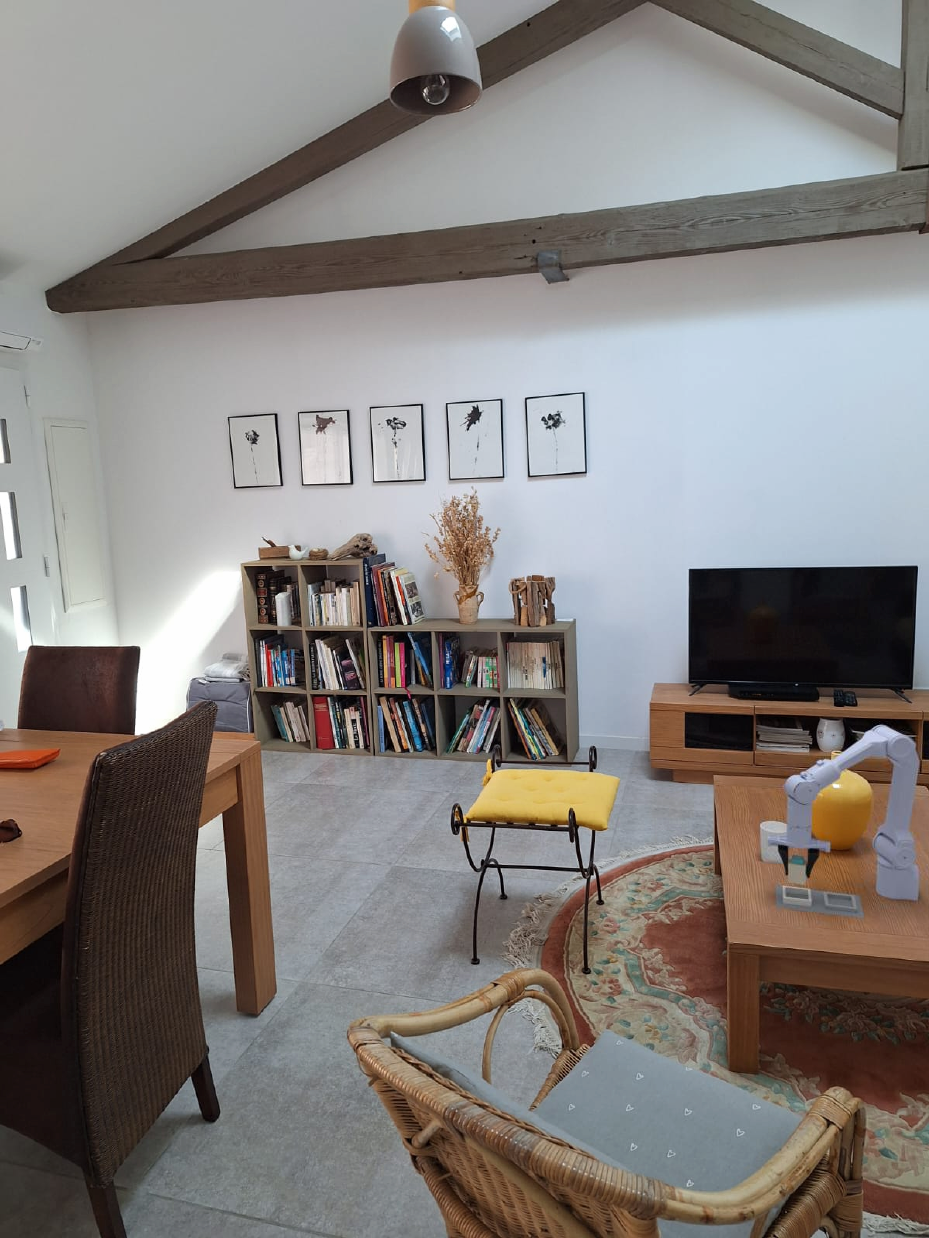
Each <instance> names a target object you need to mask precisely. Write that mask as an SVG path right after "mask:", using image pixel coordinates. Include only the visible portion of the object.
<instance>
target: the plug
mask: <svg viewBox="0 0 929 1238" xmlns="http://www.w3.org/2000/svg"><path fill="white" fill-rule="evenodd" d="M807 861H808V859H805V856H803V855H797V854H792V856H790V857H789V859H788V876H787V882H788V883H791V884H797V885H802V886H803V885H804V886H806V884H807V883H806V882H807V879H808V878H807V875H806V871H807Z"/></svg>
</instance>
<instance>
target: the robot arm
mask: <svg viewBox="0 0 929 1238" xmlns="http://www.w3.org/2000/svg"><path fill="white" fill-rule="evenodd" d="M916 748H917V743H916V741H914V740H913V739H911V738H910V737H909V736H908V735H906V734H902V733H900V732H898V731H896V730H894V729H893V728H890V727H889V726H887V725H884V724H879V725H876V726H874V727H873V728H871V729H870V730H867V731H865V733H864V734H863V737H862V738H860V739H859V740H858V741H856V742H855V743H853V744H852V745H851V746H850V747H848V748H847V749H846V750H843V752H842V753H840V754H838V755H837V756H836V757H834V758H833V759H828V758H824V759H823V760H822V759H819V760H817V761H816V763H815V765H812V766H811V767H810V768H808V769H806V770H804V771H801V772H800V773H799V774H793V775H791V776H790V777H788V778H787V779H786V781H785V784H782V788H783V791H784V793H785V794H786V795H787V804H786V825H787V834H786V836H768V846H772V845H773V846H778V852H779V855H780V857H781V859H782V861H783V864H782V865H783V867H784V873H785V874H784V875H785V876H787V877H788V863H789V848H793V849H794V848H796V849H804V850H807V871H806V875H807V878H806V879H810V878H811V873H812V870H813V868H814V866H815V864H816V862H817V860H818V859H819V858H820V851H824V852H825V853H831V842H830V841H824V840H819V839H816V838H812V821H813V820H812V819H813V818H812V816H813V814H812V813H813V802H815V800H816V799H817V797H818V795H819V794H820V793H821V791H823V790H824V789H826V788H827V787H829V786H831V785H832V784H833V783H835V782H837V781H838V780H840V778H841V774H842V772H844V771H845V770H847V769H849V768H851V767H852V766H855V765H856V764H858V763H860V762H862V761H864V760H865V759H868V758H869V757H872V758H883V759H888V760H889V761H890V762H891V763H892V764H893V768H892V769H893V770H892V776H891V781H890V788H889V796H888V802H887V809H886V815H885V820H884V821H885V822H884V823H882V824H881V825H880V826H878V828H877V832H876V834H875V836H874V837H873V840H872V848H873V850H874V851H875V853H877V854H876V857H877V861H876V862H877V866H876V884H875V885H876V886H875V888H876V889H875V891H876V893H877V894H879V895H880V896H882V897H883V898H888V899H892V900H907V901H919V890H920V889H919V887H920V886H919V885H920V872H919V867H918V865H917V864H914V863H915V862H916V859H917V852H916V850H915V838H914V837H913V835H912V833H911V831H910V826H911V825H910V824H911V818H912V813H913V812H912V811H913V807H914V806H913V805H914V800H915V795H916V788H917V781H918V774H919V768H920V759H919V755H918V753H917V750H916Z"/></svg>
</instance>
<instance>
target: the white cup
mask: <svg viewBox="0 0 929 1238" xmlns="http://www.w3.org/2000/svg"><path fill="white" fill-rule="evenodd" d="M759 830H760V831H759V832H760V834H759V836H760V837H759V838H760V850H761V851H760V852H761V853H760V855H761V856H760V858H761V860H762V862H764V863H770V864H771V863H772V864H779V865H780V864H781V865H784V864H783V861H782V859H781V857H780V855H779V852H778V846H773V845H772V846H768V836H786V834H787V823H784V822H781V821H780V822H779V821H776V820H773V821H772V820H768V821H763V822H761V823H760V825H759Z"/></svg>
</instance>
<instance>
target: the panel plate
mask: <svg viewBox="0 0 929 1238" xmlns="http://www.w3.org/2000/svg"><path fill="white" fill-rule="evenodd" d="M783 886H784V885H781V886H780V885H775V887H774V888H775V890H774V893H775V908H776V909H777V908H778V909H785V910H793V911H800V912H801V911H802V912H808V913H809V912H810V913H815V914H816V913H818V914H825V915H832V916H840V917H847V918H848V917H849V918H856V919H865V915H864V911H863V906H862V902H861V898H860V895H857V894H853V895H854V897H855V901H856V906H857V913H854V912H846V911H838V910H830V909H825V905H824V898H823V892H826V891H825V890H824V891H823V890H816V889H815V890H814V889H810V891H811V900H812V906H811V907H810V906H802V905H794V904H786V903H783V892H782V889H783ZM828 892H829V893H835V892H831V891H828ZM837 893H838V894H843V893H841V892H837ZM845 894H846V895H852V894H850V893H845ZM786 897H792V898H800V899H808V895H802V894H793V893H786ZM827 898H828V897H827ZM828 904H832V905H840V906H849V907H852V903H851V900H845V899H836V898H828Z"/></svg>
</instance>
